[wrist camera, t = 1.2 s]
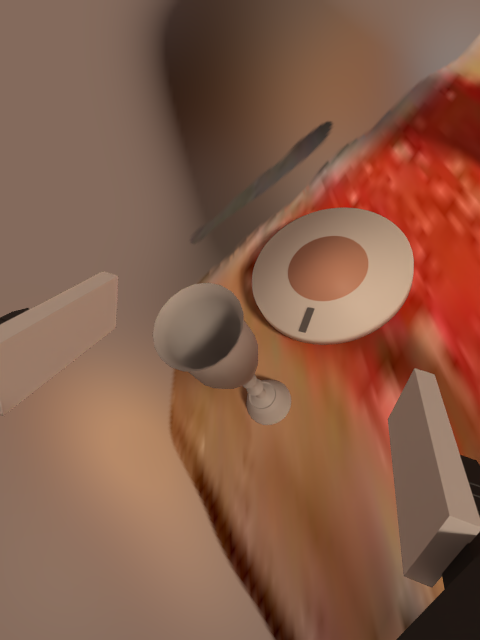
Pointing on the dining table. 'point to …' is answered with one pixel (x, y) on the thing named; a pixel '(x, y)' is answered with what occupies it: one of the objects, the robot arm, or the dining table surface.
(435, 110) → the dining table surface
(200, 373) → the chalice
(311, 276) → the turntable
